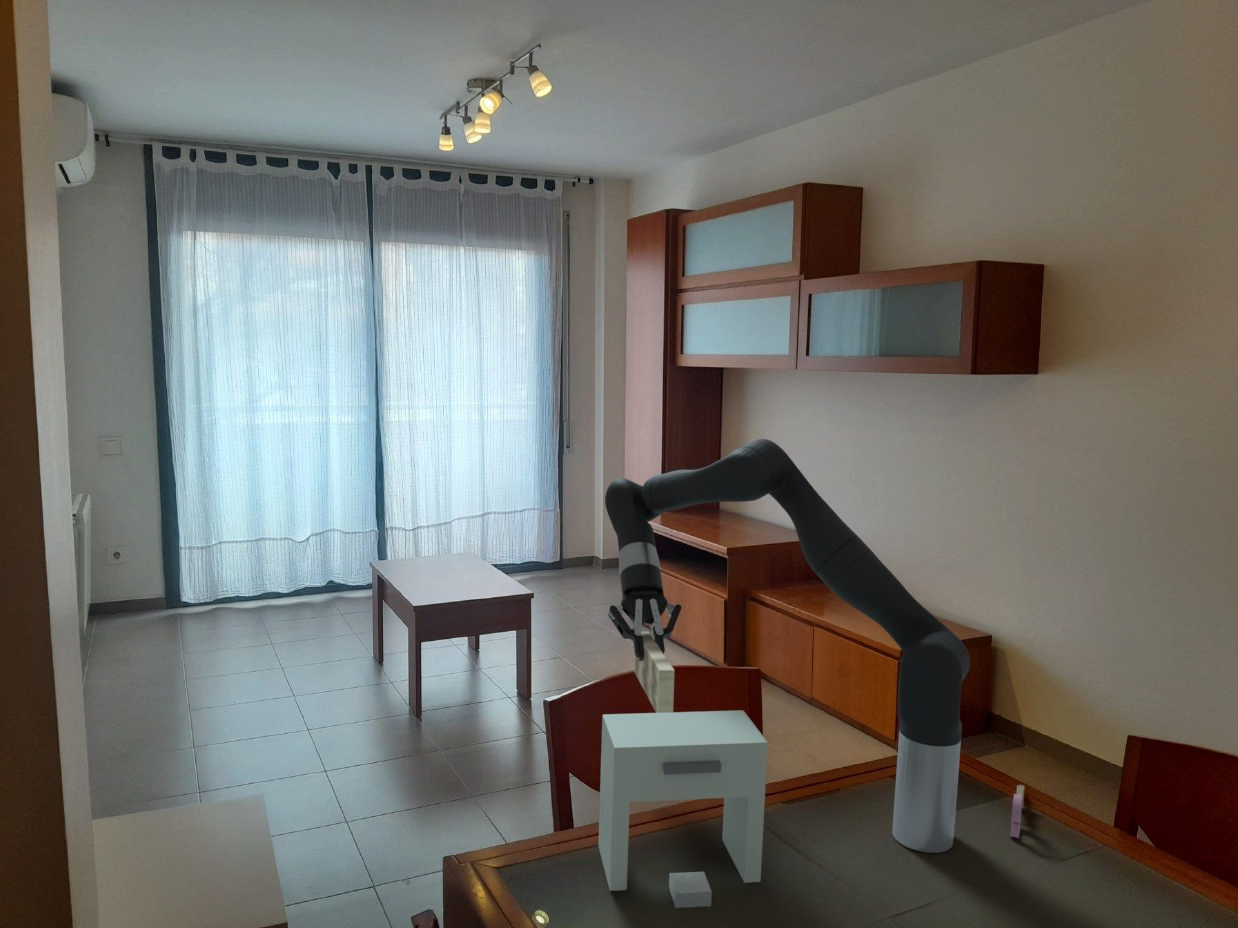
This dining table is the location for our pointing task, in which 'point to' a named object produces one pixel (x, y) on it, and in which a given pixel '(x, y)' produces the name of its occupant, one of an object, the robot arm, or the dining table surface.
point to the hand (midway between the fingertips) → (650, 657)
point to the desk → (683, 779)
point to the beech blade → (656, 676)
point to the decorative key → (1017, 811)
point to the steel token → (690, 889)
